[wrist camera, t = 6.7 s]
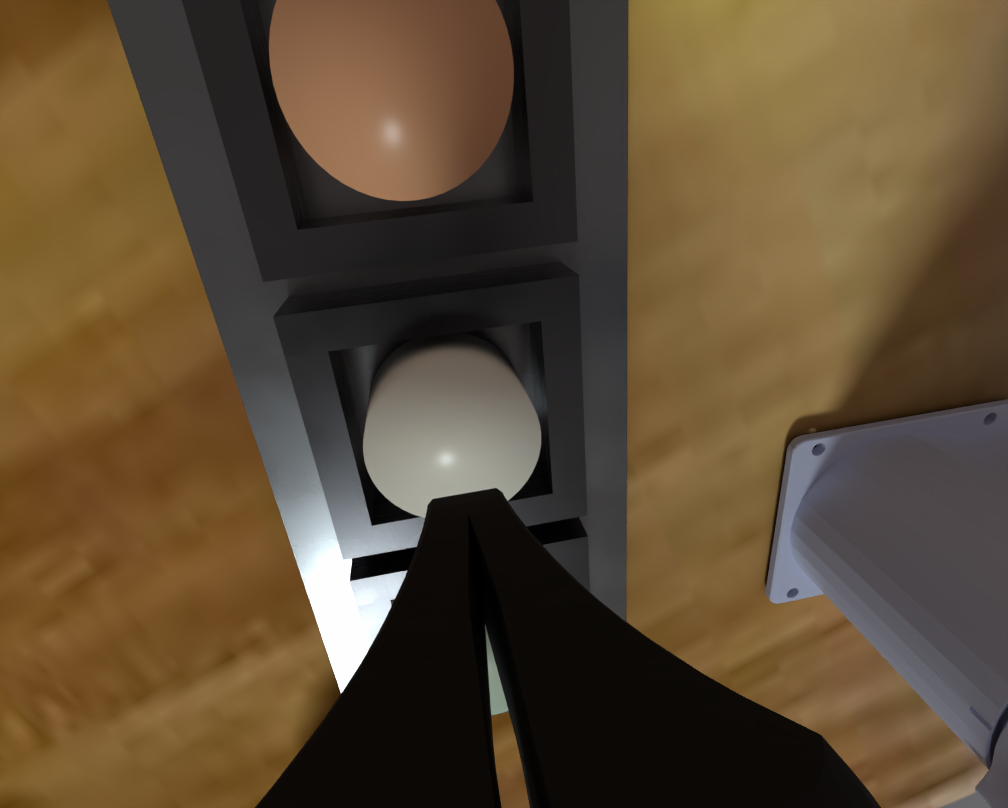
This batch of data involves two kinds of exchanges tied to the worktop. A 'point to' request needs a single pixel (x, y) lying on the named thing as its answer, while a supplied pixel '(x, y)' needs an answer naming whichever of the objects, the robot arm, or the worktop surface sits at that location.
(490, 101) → the button terracotta
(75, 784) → the worktop surface
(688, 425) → the worktop surface
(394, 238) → the tray
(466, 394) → the button cream
